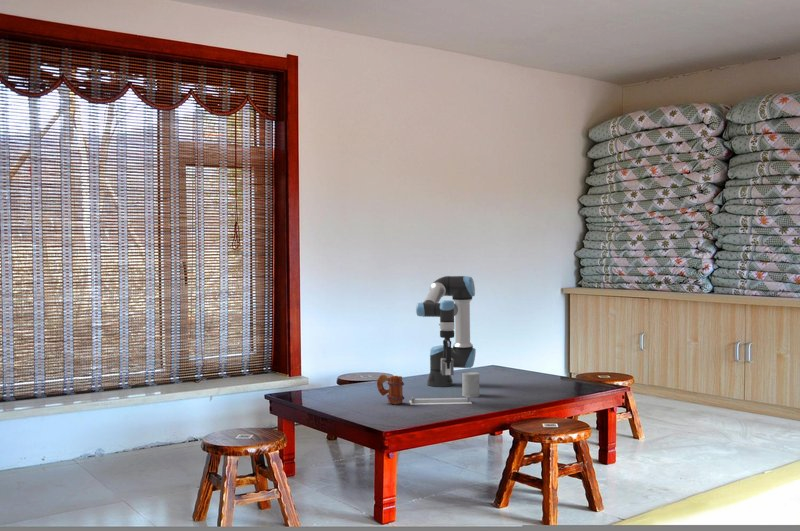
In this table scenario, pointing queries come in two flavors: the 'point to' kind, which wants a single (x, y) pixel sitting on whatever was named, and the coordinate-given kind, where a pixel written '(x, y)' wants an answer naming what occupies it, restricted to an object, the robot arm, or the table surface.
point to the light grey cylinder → (470, 384)
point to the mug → (391, 388)
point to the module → (444, 366)
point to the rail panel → (440, 401)
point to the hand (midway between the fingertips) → (447, 373)
